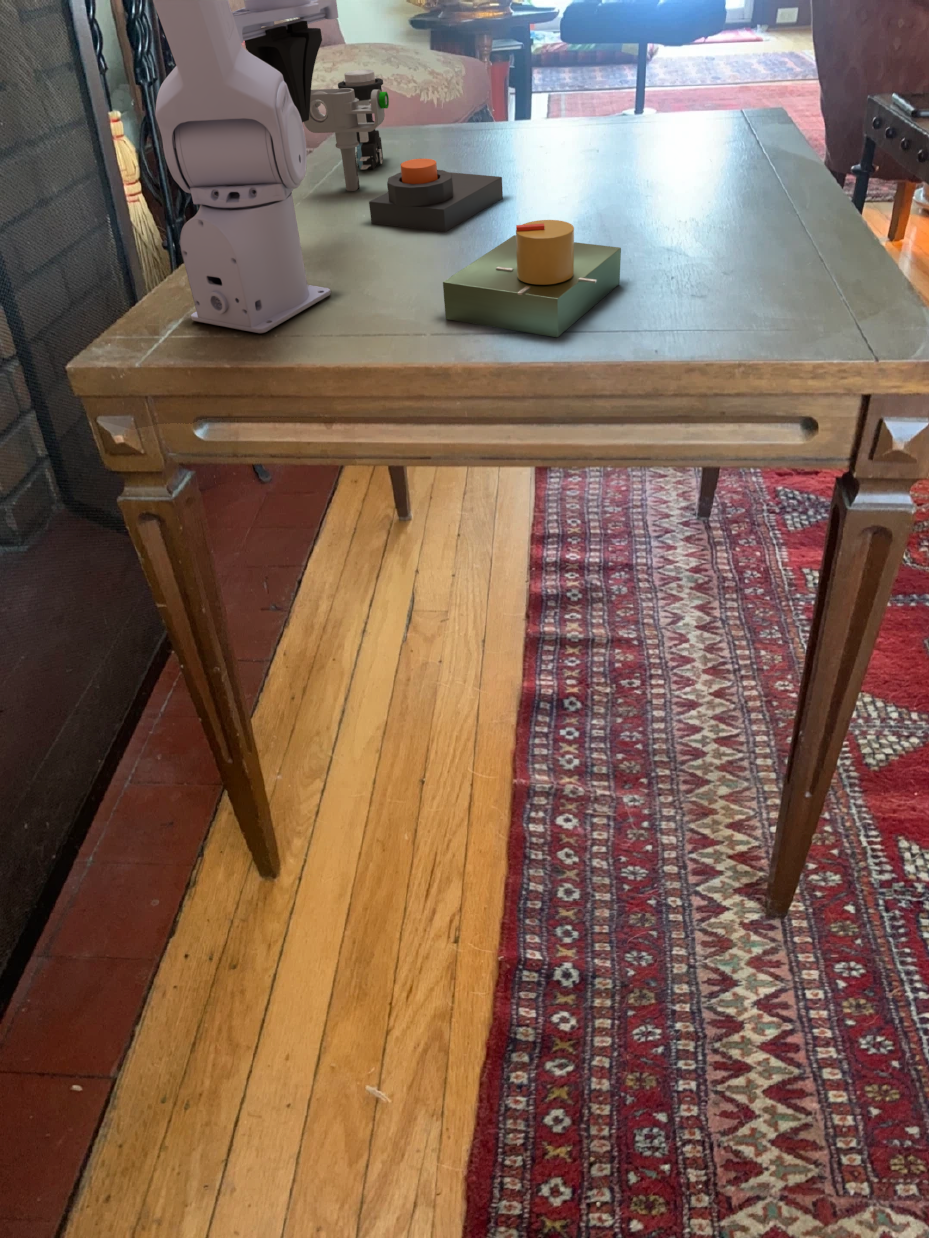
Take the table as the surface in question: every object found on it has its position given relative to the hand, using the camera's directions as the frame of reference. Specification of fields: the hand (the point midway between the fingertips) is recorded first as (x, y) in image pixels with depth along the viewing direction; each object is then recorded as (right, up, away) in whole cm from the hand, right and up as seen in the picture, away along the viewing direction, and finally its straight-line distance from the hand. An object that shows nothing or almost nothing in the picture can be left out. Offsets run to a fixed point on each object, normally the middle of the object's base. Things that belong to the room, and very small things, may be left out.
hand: (296, 121), depth 87 cm
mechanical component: (+3, +2, +19) cm, 19 cm away
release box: (+13, -4, +10) cm, 17 cm away
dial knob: (+22, -20, -15) cm, 33 cm away
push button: (+4, +9, +26) cm, 28 cm away
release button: (+11, -3, +6) cm, 13 cm away
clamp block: (+22, -21, -11) cm, 32 cm away
